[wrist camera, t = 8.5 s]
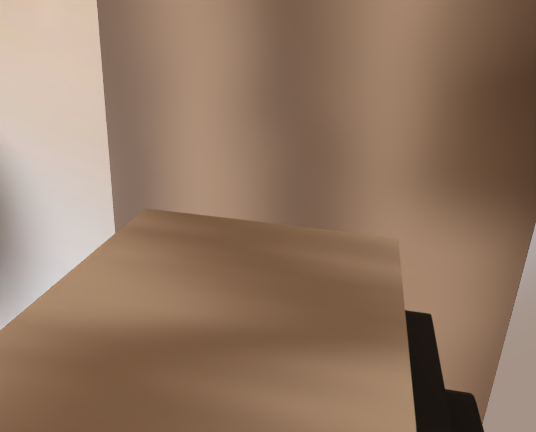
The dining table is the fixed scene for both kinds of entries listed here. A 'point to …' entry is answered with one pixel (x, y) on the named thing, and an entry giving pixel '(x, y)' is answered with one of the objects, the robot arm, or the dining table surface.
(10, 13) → the dining table surface
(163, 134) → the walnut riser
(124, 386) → the birch block
